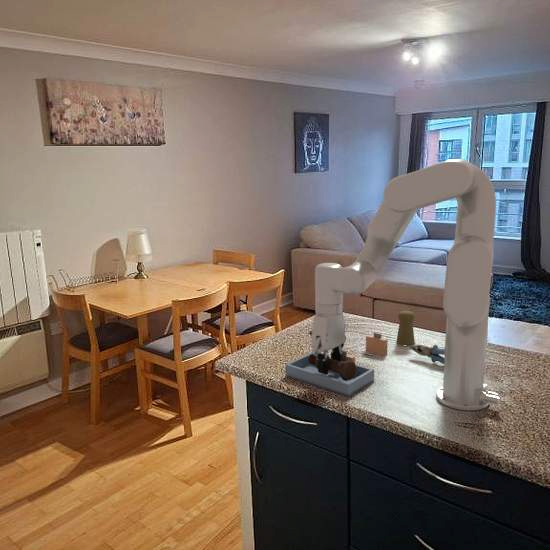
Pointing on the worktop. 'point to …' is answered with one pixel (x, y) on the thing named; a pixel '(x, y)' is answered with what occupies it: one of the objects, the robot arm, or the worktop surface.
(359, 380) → the tray
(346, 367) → the bolt
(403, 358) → the worktop surface
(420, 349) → the pliers
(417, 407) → the worktop surface
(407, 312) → the cork
